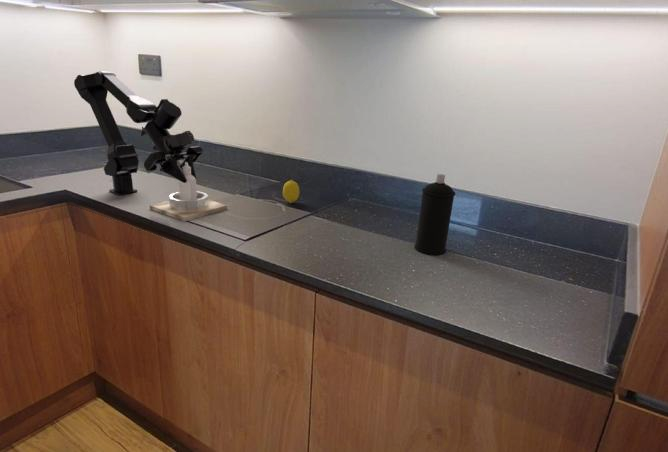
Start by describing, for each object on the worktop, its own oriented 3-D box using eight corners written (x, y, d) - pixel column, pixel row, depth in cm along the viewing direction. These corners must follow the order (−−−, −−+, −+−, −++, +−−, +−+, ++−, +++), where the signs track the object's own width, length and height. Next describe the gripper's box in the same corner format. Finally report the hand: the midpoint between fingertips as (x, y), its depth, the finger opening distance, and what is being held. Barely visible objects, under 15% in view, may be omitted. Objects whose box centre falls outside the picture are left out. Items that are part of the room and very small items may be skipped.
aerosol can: (440, 258, 106) (452, 180, 100) (409, 250, 110) (419, 174, 104) (450, 248, 113) (462, 175, 106) (420, 240, 117) (431, 169, 110)
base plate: (149, 209, 128) (149, 205, 128) (193, 198, 141) (193, 195, 140) (184, 221, 120) (184, 217, 120) (227, 209, 133) (227, 205, 132)
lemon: (296, 206, 140) (297, 182, 137) (280, 204, 141) (280, 180, 138) (300, 201, 145) (301, 179, 142) (285, 200, 146) (285, 177, 143)
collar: (162, 205, 128) (161, 195, 127) (191, 198, 137) (191, 189, 136) (185, 213, 123) (185, 203, 122) (215, 205, 132) (215, 195, 131)
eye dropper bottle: (182, 204, 126) (180, 164, 122) (178, 199, 131) (176, 160, 127) (197, 203, 129) (196, 164, 124) (193, 198, 133) (191, 160, 129)
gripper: (147, 124, 115) (179, 170, 115) (198, 119, 131) (226, 160, 130) (130, 148, 121) (160, 193, 121) (180, 141, 137) (207, 181, 136)
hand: (190, 181), depth 127 cm, fingers closed on eye dropper bottle, 3 cm apart
